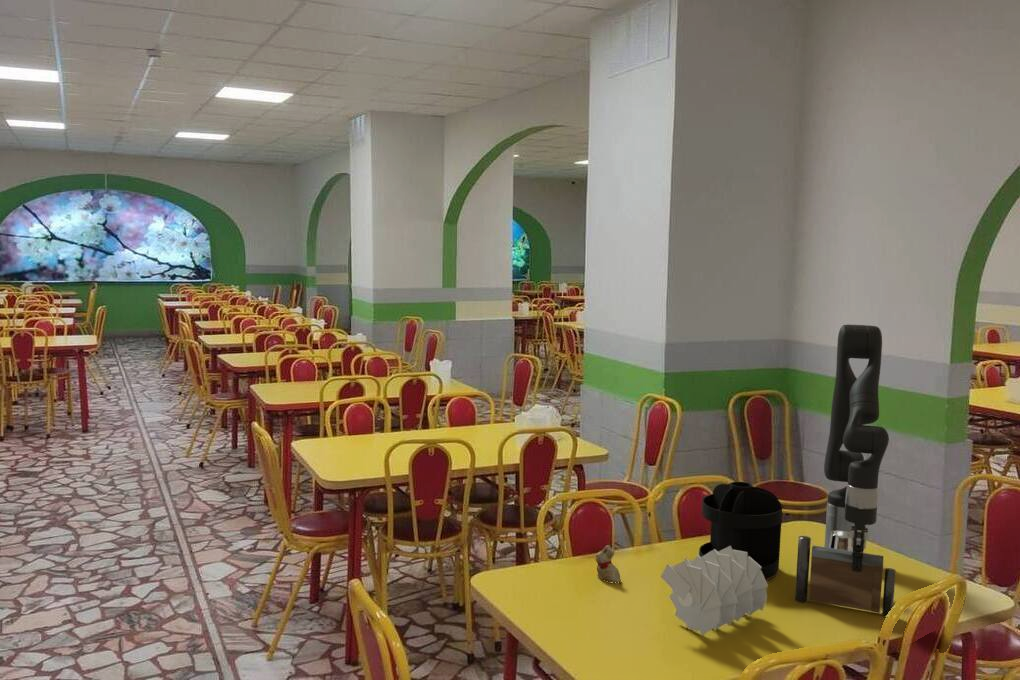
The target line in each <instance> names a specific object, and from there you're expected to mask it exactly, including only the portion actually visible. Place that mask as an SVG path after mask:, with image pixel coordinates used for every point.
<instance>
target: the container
mask: <svg viewBox="0 0 1020 680" xmlns="http://www.w3.org/2000/svg"><path fill="white" fill-rule="evenodd" d="M701 503H702V504H701V515H702V517H703V518H705V520H707V521H709V522H710V538H709V539H710V540H709V542H706V543H703V544H702V545H700V547H699V550H698V555H699V556H700V557H702V556H704V555H705V554H707V553H709V552H710V551H712V550H714V549H715V550H716V551H720V550H723V549H725V548H727V547H729V546H731V547H732V550H738V551H743V552H748V556H750V557H751V558H752V559H753V560H754V561H755V562H757V563H758V564H759V565H760V566H761V569H760V570H761V571H762V573H763V575H764V577H765V580H766V581H767V580H769V579H772V578H774V577H775V576H776V575H777V574H778V572H779V570H780V569H779V568H780V556H781V555H780V554H781V553H780V551H781V536H782V535H781V534H782V517H783V504H781V501H780V500H779V498H778V497H777V496H776V495H775V494H774V493H773V492H771V491H769V490H767V489H765V488H761V487H757V486H753V484H752V483H749V482H745V481H732V482H730V483H727V484H726V483H720V484H718V485H715V487H714V488H713V491H712V493H711V494H708V495H705V496H704V497H703V498H702V502H701Z"/></svg>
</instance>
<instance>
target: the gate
mask: <svg viewBox="0 0 1020 680" xmlns="http://www.w3.org/2000/svg"><path fill="white" fill-rule="evenodd" d="M852 553H853V551H847V550H840V549H834V548H827V547H824V546H820V545H813V544H812V547H811V557H810V559H811V560H810V572H809V573H810V575H809V577H810V578H809V589H808V601H811V602H816V603H821V604H822V603H823V604H826V605H827V604H828V605H832V606H833V605H835V606H840V607H845V608H852V609H857V610H862V611H867V612H872V613H878V614H879V613H880V612H881V599H882V586H883V573H884V569H883V568H884V555H881V554H880V555H879V554H873V553H867V552H863V555H864V556H863V558H862V569H861V572H856V571H853V570H852V563H853V557H852ZM860 553H861V552H860Z"/></svg>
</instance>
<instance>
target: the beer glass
mask: <svg viewBox="0 0 1020 680" xmlns="http://www.w3.org/2000/svg"><path fill="white" fill-rule="evenodd" d="M851 539H852V536H851V532H848V531H842V530H835V531H832V532H831V536H830V542H829V548H834V549H840V550H847V551H853V550H852V549H853V547H851Z"/></svg>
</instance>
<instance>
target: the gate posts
mask: <svg viewBox="0 0 1020 680" xmlns="http://www.w3.org/2000/svg"><path fill="white" fill-rule="evenodd" d="M797 544H798V545H797V558H796V559H797V560H796V575H795V576H796V577H795V593H794V601H795V602H798V603H800V602H801V604H803V603H804V604H805V602H806V603H808V593H809V589H808V588H809V587H808V586H809V577H810V575H809V573H810V561H811V560H810V559H811V557H810V556H811V544H812V539H811V537H810V536H807V535H799V536H798V543H797ZM896 573H897V572H896V568H895V569H894V568H892V567H886V568H885V569H884V581H883V582H884V583H883V585H884V586H883V597H882V610H881V611H882V612H881V616H882V617H885V616H886V615H887V614H888V612H889V611H890V610H891V608H892V607H893V608H894V601H895V600H894V596H895V585H896ZM885 618H886V617H885Z"/></svg>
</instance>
